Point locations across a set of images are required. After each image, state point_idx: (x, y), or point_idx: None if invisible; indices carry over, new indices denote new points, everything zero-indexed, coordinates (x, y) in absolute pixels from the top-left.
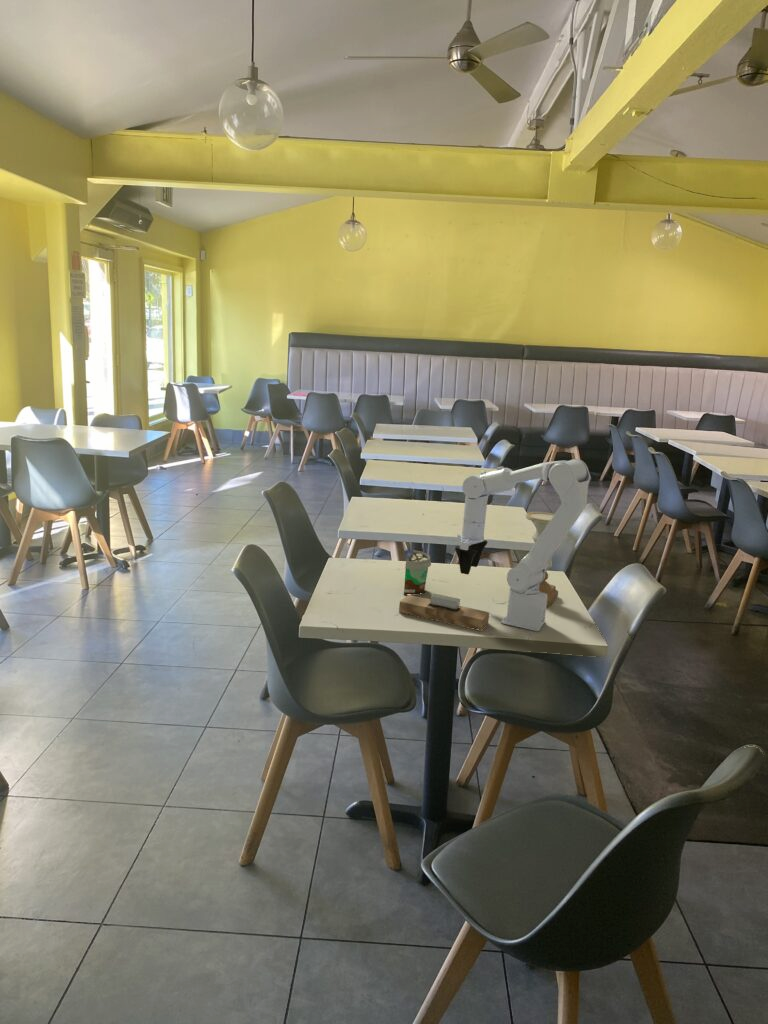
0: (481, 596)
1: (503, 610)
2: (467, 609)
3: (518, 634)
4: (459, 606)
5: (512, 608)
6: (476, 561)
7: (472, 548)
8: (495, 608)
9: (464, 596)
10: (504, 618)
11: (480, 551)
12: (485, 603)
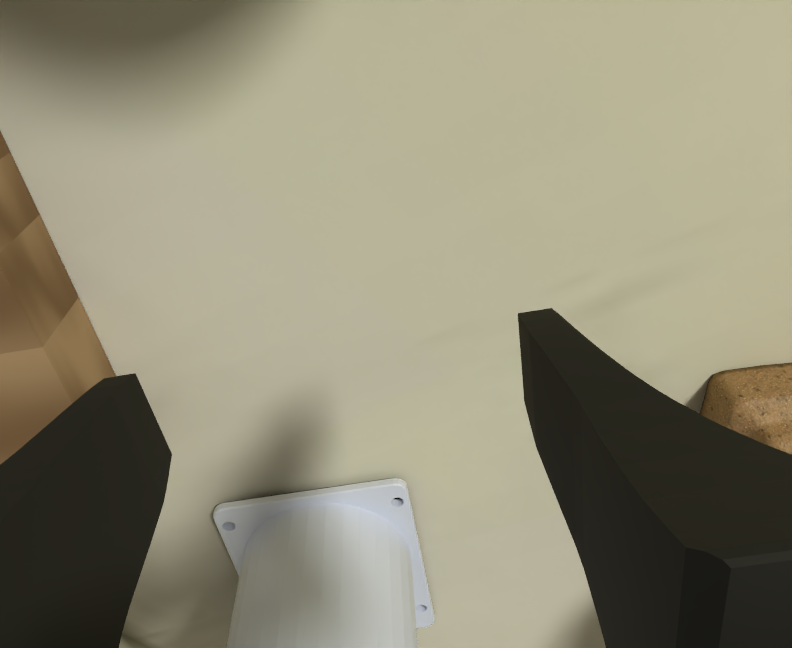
0: (642, 198)
1: (448, 426)
2: (22, 397)
3: (159, 595)
4: (15, 328)
5: (230, 626)
6: (546, 448)
7: (616, 545)
8: (446, 379)
9: (548, 83)
10: (275, 503)
11: (602, 630)
12: (498, 291)
